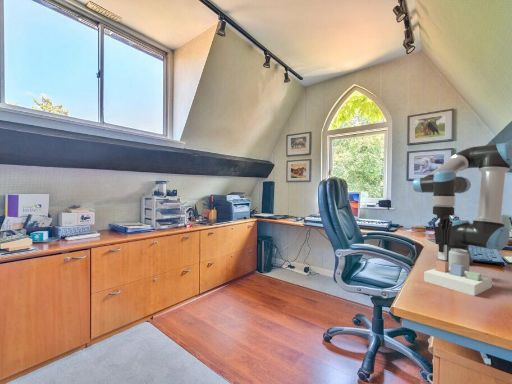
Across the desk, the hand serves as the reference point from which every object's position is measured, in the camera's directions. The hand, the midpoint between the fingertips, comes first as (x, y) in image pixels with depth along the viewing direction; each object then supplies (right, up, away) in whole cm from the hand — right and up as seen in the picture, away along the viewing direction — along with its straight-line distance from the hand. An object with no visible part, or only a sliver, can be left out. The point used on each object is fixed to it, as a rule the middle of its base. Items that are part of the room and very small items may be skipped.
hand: (442, 259), depth 107 cm
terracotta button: (0, -6, 0) cm, 6 cm away
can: (+13, -9, +6) cm, 17 cm away
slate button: (+3, -6, -5) cm, 8 cm away
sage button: (+6, -8, -9) cm, 13 cm away
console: (+3, -9, -5) cm, 11 cm away
